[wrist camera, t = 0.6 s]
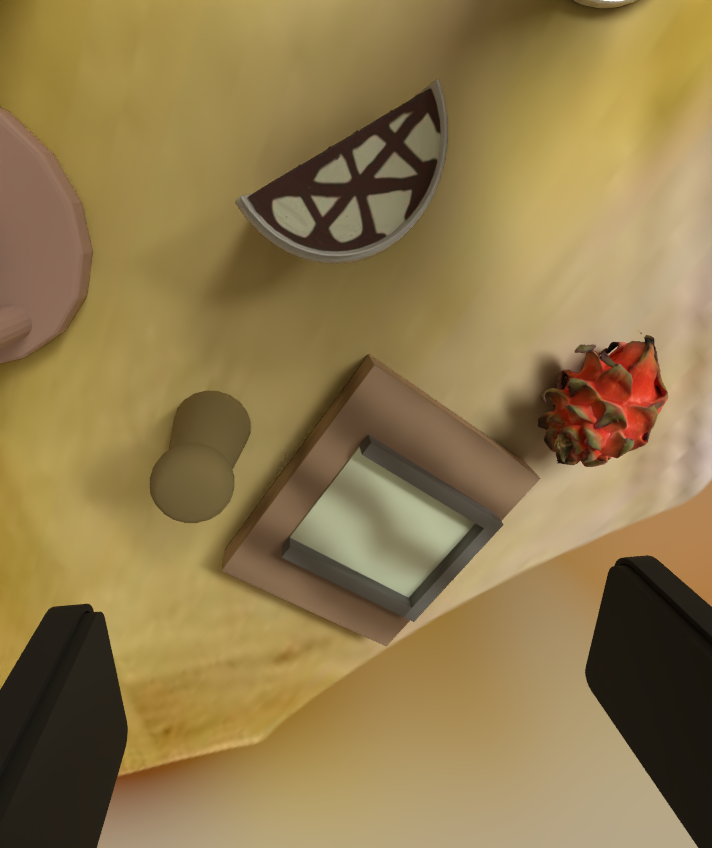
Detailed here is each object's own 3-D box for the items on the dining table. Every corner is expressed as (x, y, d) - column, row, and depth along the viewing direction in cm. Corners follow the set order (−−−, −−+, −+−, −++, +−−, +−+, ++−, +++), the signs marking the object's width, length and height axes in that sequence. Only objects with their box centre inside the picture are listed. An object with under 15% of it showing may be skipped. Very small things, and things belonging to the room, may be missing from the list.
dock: (368, 354, 40) (377, 371, 36) (525, 462, 46) (548, 487, 42) (225, 549, 46) (219, 582, 42) (381, 622, 51) (389, 659, 47)
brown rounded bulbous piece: (169, 452, 41) (131, 531, 31) (179, 383, 39) (141, 445, 29) (244, 464, 43) (229, 544, 33) (256, 399, 40) (246, 462, 30)
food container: (292, 283, 37) (293, 308, 28) (246, 203, 35) (230, 201, 26) (441, 198, 36) (492, 195, 27) (404, 108, 34) (447, 72, 24)
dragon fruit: (515, 437, 47) (592, 326, 45) (600, 491, 44) (685, 374, 42) (512, 434, 38) (605, 298, 37) (617, 499, 36) (722, 356, 34)
